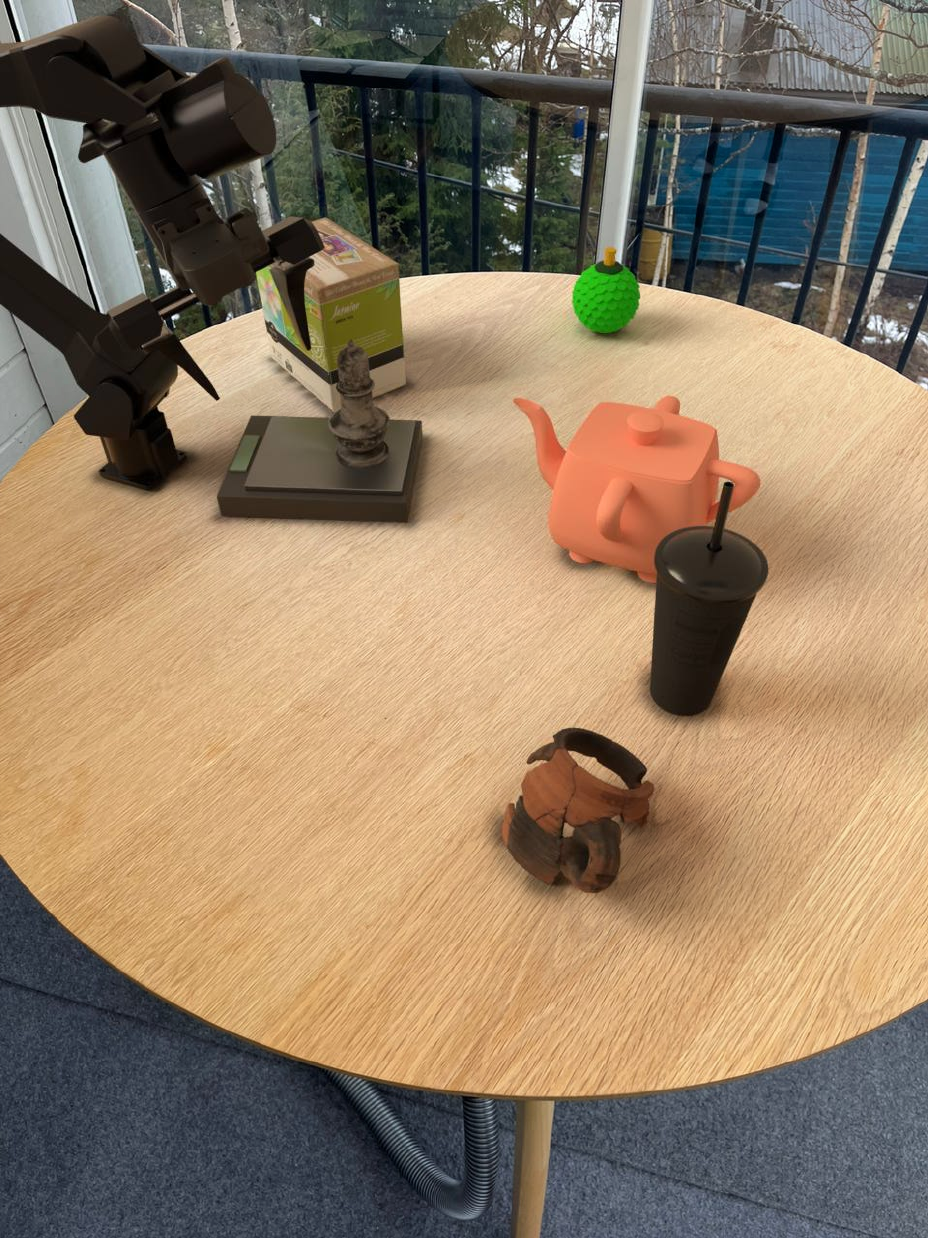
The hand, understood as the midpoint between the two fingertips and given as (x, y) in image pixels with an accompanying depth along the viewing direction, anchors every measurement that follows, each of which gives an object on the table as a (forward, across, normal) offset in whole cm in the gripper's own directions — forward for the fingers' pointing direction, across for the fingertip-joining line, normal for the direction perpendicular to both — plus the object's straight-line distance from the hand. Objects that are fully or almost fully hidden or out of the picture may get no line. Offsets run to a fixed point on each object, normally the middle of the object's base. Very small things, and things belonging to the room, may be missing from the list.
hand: (263, 374), depth 83 cm
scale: (+13, +1, +5) cm, 14 cm away
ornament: (+20, +42, +19) cm, 50 cm away
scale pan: (+11, +3, +4) cm, 12 cm away
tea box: (+10, +10, +23) cm, 27 cm away
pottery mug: (+27, -1, -40) cm, 49 cm away
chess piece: (+12, +5, +2) cm, 13 cm away
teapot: (+25, +20, -15) cm, 35 cm away
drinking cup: (+29, +13, -32) cm, 45 cm away
